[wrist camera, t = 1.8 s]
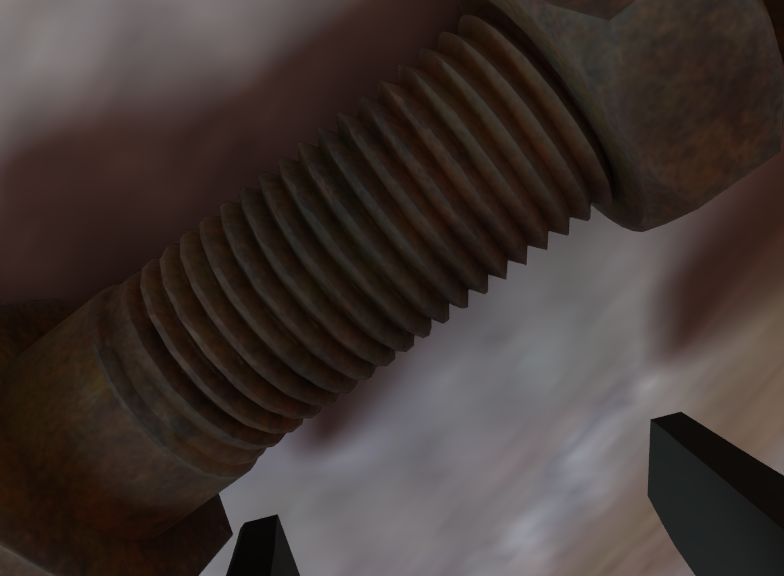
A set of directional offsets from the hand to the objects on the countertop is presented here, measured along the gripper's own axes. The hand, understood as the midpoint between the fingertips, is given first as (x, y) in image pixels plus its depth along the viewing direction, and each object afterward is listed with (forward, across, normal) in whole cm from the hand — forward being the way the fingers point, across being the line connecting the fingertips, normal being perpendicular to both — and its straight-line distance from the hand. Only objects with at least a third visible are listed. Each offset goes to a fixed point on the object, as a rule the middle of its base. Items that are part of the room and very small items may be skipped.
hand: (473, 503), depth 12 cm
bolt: (+2, 0, -6) cm, 7 cm away
